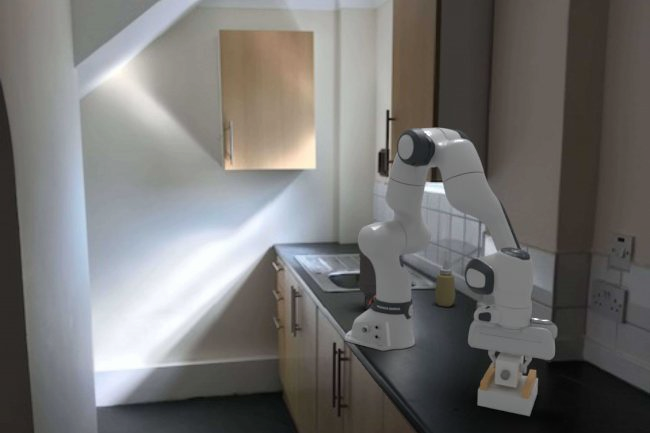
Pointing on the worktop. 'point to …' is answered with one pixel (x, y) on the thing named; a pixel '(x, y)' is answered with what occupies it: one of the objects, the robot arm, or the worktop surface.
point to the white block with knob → (508, 369)
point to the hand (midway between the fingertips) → (509, 369)
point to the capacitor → (367, 279)
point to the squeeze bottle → (445, 286)
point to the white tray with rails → (508, 393)
